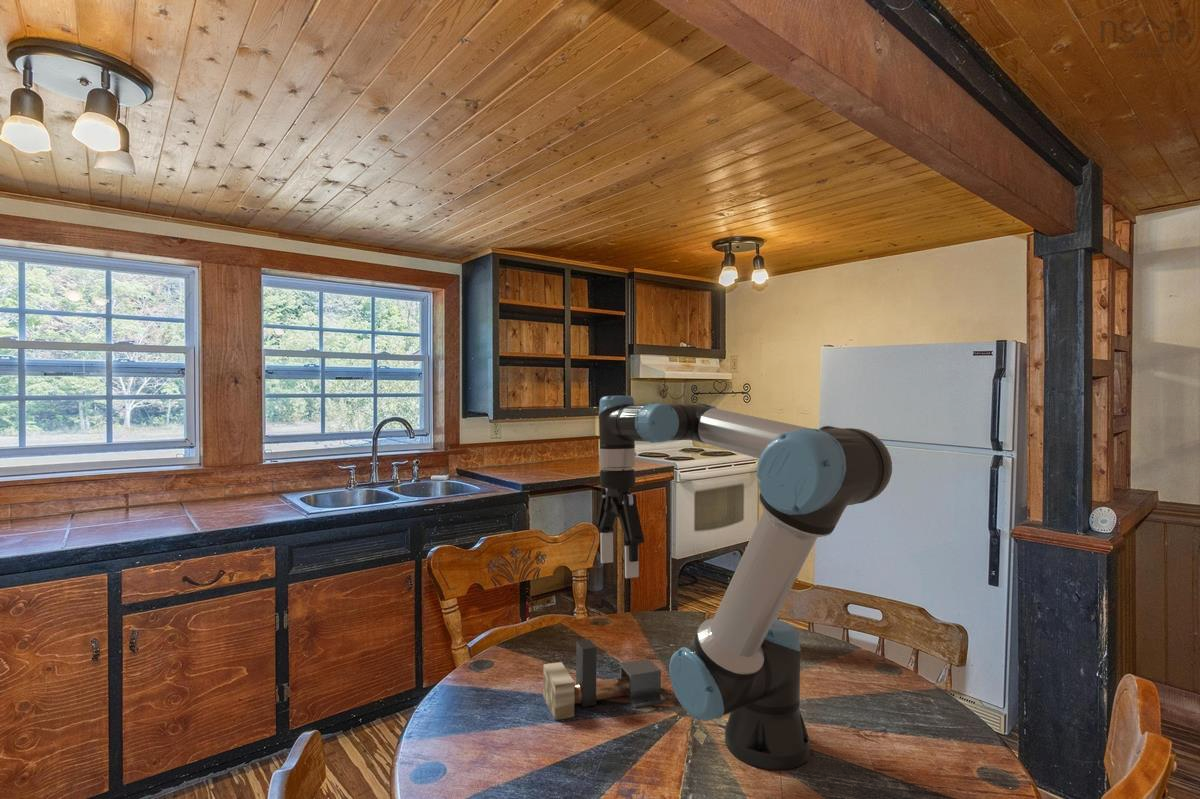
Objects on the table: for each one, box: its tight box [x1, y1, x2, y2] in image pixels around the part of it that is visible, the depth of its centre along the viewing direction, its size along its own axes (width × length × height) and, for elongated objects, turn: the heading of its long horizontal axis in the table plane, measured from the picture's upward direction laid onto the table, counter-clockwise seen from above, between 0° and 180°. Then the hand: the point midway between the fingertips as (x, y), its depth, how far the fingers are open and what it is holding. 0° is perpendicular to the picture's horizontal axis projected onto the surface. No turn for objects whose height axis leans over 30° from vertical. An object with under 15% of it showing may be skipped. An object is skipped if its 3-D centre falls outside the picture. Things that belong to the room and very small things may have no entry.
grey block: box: [619, 658, 666, 709], centre depth 131 cm, size 11×7×6 cm, turn 19°
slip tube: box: [574, 638, 630, 708], centre depth 128 cm, size 5×19×12 cm, turn 109°
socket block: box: [542, 661, 576, 721], centre depth 125 cm, size 10×4×7 cm, turn 19°
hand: (618, 569), depth 126 cm, fingers open, 13 cm apart
